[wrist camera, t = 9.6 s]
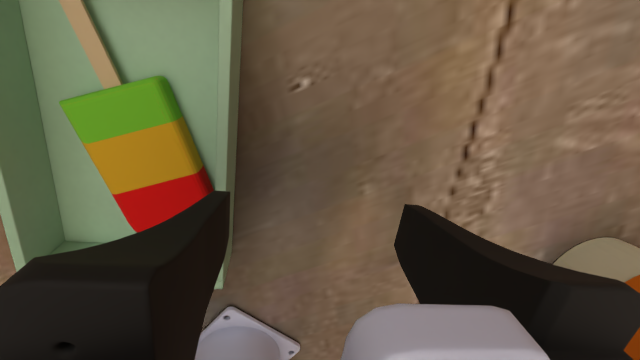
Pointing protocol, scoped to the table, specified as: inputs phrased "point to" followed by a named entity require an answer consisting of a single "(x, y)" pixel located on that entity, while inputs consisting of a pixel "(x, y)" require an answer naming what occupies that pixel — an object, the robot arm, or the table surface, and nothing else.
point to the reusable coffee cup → (608, 269)
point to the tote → (80, 78)
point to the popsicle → (134, 136)
